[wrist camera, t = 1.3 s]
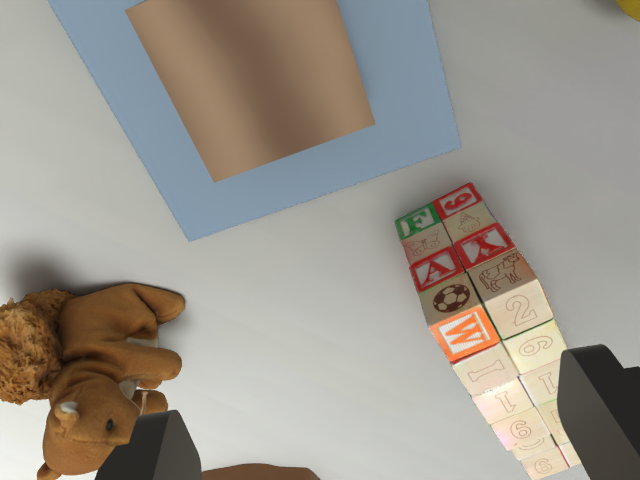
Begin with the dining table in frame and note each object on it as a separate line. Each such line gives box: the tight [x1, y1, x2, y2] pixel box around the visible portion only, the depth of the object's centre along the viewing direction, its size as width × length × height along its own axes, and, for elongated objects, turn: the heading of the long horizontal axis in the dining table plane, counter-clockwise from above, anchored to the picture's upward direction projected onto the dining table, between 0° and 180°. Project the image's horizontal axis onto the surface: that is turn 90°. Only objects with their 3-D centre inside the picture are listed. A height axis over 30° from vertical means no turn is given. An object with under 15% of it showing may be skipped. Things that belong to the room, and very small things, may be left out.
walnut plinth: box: [125, 0, 376, 183], centre depth 29 cm, size 10×10×4 cm
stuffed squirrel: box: [0, 283, 185, 480], centre depth 36 cm, size 10×14×13 cm
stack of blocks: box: [395, 183, 581, 480], centre depth 37 cm, size 21×6×12 cm, turn 30°
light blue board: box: [47, 0, 461, 242], centre depth 31 cm, size 20×20×1 cm
